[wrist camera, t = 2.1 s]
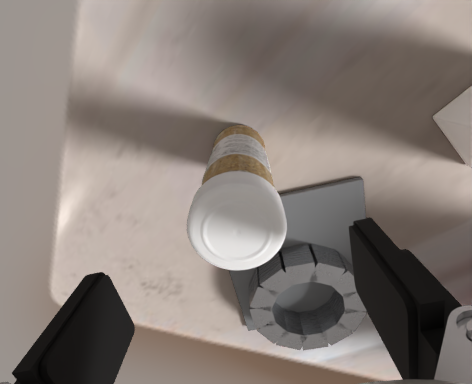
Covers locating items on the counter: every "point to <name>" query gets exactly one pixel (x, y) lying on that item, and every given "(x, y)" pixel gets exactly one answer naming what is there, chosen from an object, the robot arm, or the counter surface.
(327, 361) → the counter surface
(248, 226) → the spice jar
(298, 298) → the mat
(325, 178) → the counter surface
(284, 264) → the ring seat
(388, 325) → the robot arm
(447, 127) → the milk
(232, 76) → the counter surface
